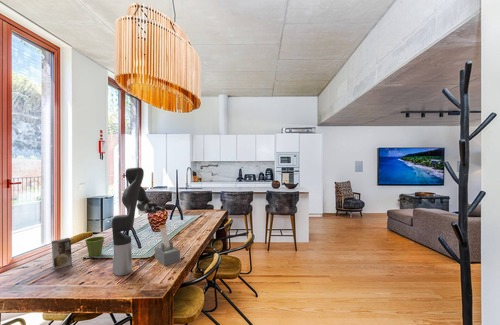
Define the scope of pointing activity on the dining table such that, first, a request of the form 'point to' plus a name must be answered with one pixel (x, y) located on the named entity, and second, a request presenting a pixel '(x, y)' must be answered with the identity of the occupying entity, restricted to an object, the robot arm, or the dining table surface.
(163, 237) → the breaker lever
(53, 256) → the coffee box
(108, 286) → the dining table surface
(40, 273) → the dining table surface
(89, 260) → the dining table surface
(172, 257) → the box
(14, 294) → the dining table surface
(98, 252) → the plant pot
